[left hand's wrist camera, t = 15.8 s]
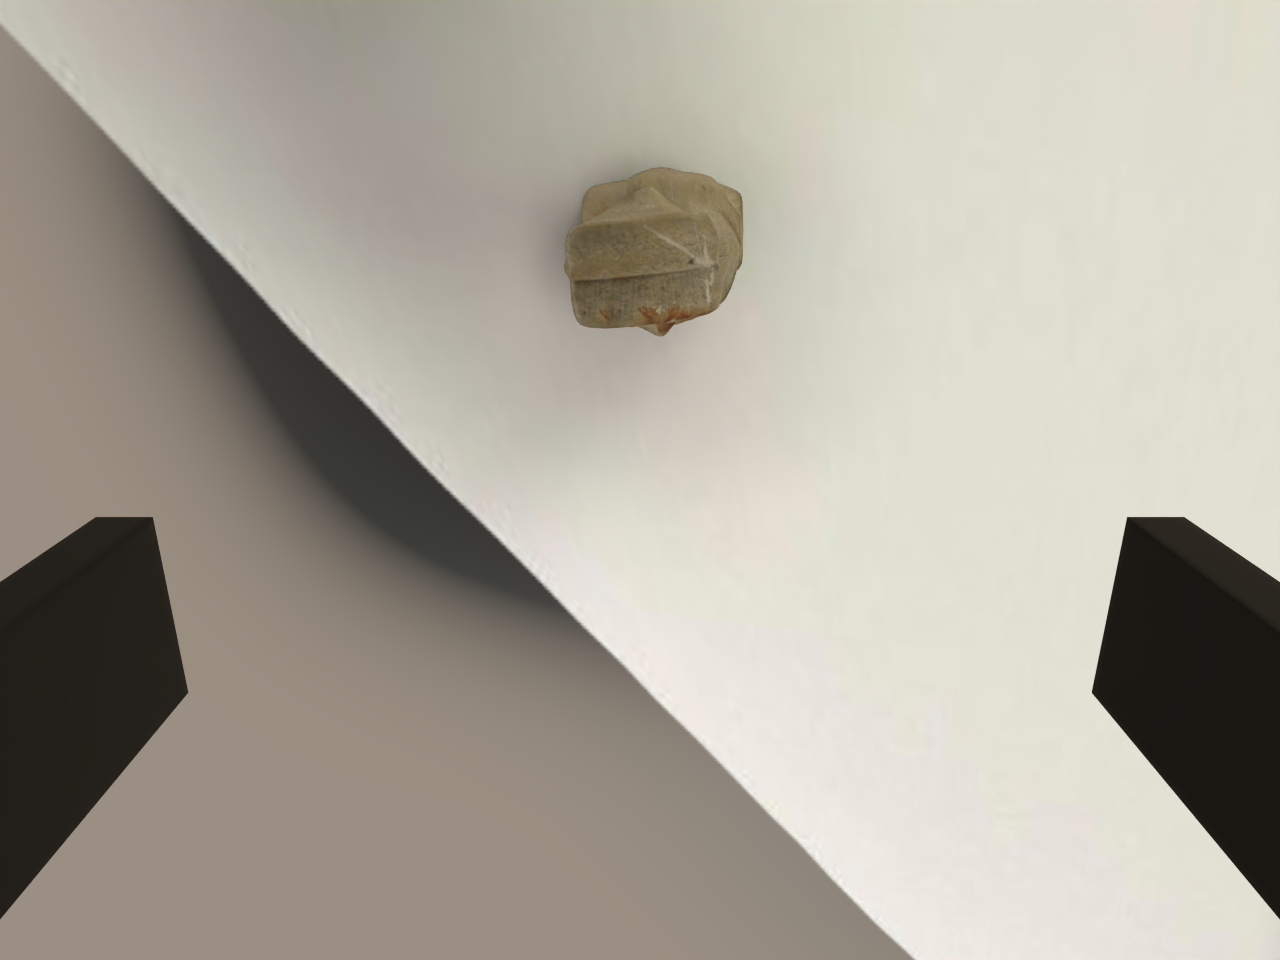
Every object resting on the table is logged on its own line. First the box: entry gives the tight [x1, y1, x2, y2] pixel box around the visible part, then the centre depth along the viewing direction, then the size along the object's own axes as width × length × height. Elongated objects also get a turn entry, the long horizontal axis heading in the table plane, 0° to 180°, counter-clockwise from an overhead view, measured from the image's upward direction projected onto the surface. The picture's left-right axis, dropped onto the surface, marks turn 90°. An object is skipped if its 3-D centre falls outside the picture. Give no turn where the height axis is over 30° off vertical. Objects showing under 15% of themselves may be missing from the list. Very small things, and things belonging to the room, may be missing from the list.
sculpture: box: [564, 167, 743, 336], centre depth 35 cm, size 6×7×15 cm
